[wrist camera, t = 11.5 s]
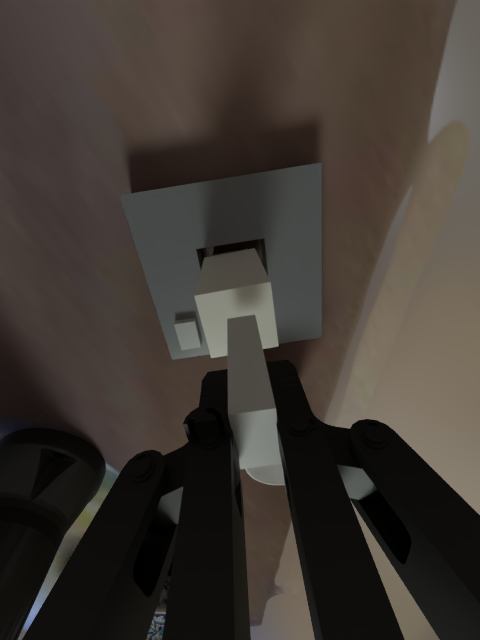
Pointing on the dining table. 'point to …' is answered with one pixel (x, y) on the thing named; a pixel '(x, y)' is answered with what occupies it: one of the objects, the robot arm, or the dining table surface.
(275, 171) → the socket plate
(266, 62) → the dining table surface
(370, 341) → the dining table surface
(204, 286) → the plug
